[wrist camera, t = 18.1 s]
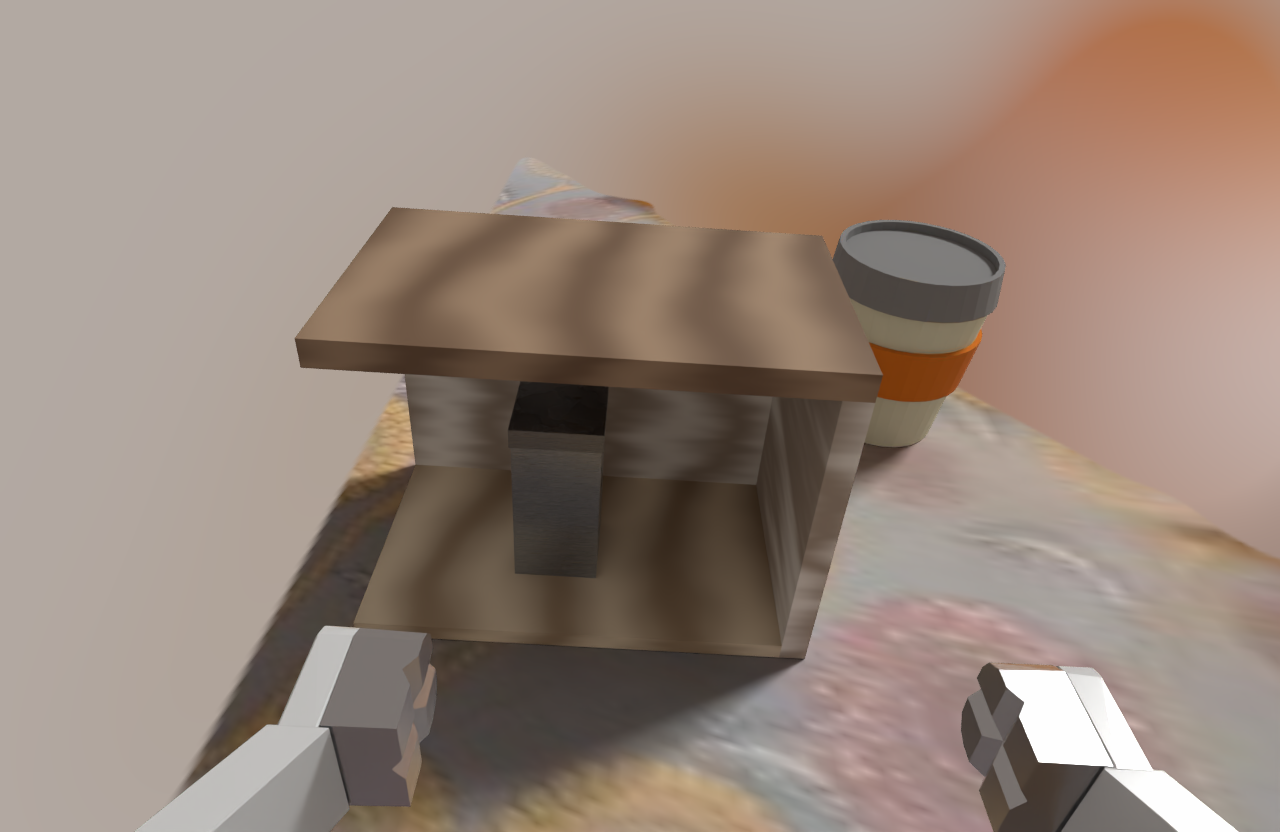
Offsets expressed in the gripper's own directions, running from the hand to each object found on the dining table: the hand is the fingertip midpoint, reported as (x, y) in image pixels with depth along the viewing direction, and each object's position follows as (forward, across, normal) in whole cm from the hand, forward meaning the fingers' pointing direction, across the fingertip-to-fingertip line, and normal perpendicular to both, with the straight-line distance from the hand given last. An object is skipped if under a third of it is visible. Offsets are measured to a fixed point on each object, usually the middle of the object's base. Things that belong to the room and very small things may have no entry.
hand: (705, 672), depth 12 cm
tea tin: (+30, +5, +27) cm, 41 cm away
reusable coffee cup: (+49, -20, +28) cm, 60 cm away
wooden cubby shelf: (+31, +3, +28) cm, 42 cm away
